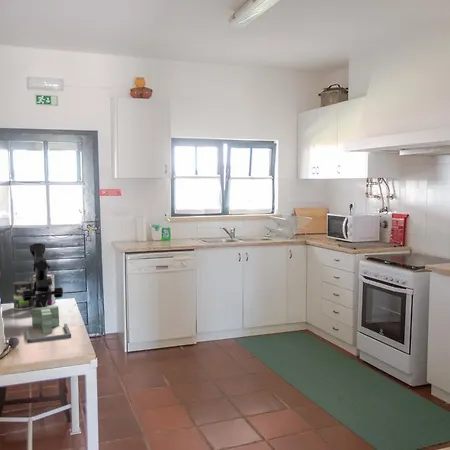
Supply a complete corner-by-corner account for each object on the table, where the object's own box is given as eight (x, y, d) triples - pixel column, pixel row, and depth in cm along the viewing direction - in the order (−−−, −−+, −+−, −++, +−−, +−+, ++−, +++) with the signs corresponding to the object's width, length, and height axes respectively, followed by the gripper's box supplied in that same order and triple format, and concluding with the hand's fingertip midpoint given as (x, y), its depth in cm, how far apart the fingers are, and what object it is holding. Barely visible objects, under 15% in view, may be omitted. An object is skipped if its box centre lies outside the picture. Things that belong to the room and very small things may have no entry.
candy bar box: (33, 304, 284) (31, 275, 282) (37, 302, 289) (35, 274, 287) (52, 304, 283) (50, 276, 281) (55, 302, 288) (54, 274, 286)
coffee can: (34, 308, 275) (33, 283, 274) (14, 310, 271) (12, 285, 269) (33, 304, 284) (32, 279, 283) (13, 306, 280) (12, 281, 279)
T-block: (32, 326, 243) (31, 308, 242) (58, 323, 247) (57, 305, 246) (33, 335, 230) (33, 316, 229) (61, 331, 235) (60, 312, 234)
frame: (25, 331, 235) (25, 328, 235) (66, 326, 242) (66, 323, 242) (27, 343, 219) (27, 340, 219) (71, 337, 226) (71, 334, 226)
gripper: (21, 274, 247) (23, 301, 238) (61, 271, 254) (64, 297, 245) (22, 287, 255) (24, 314, 246) (60, 283, 262) (63, 309, 253)
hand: (44, 308), depth 247 cm, fingers closed
